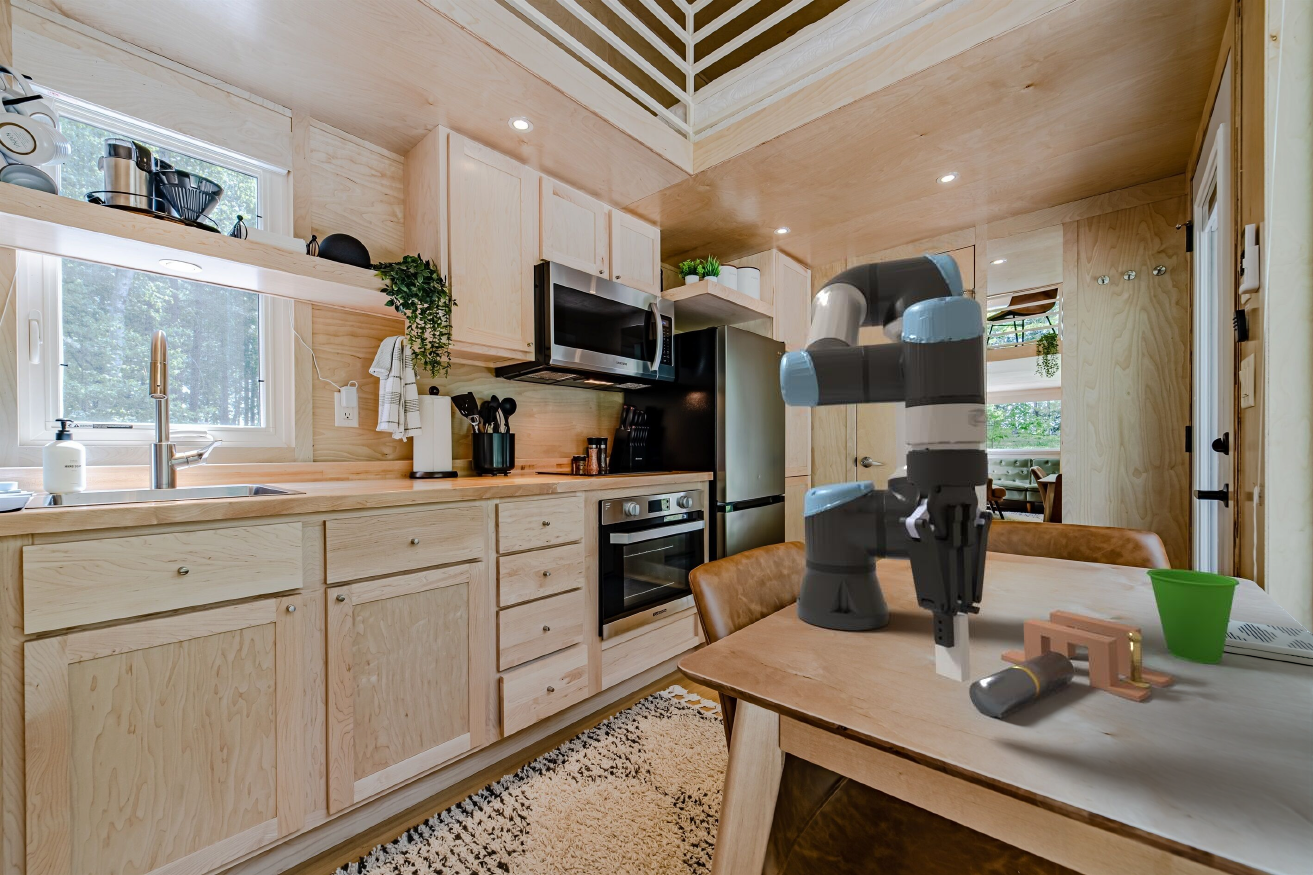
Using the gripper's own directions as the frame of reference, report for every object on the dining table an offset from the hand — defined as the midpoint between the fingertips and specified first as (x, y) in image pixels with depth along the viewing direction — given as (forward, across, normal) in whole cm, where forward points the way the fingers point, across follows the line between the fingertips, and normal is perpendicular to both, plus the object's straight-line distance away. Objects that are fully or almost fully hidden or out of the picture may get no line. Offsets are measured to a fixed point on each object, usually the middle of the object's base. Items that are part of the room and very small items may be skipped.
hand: (952, 675), depth 55 cm
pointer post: (+5, +29, -5) cm, 30 cm away
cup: (+5, +46, -6) cm, 47 cm away
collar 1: (+5, +25, 0) cm, 26 cm away
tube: (+6, +14, 0) cm, 15 cm away
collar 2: (+5, +32, 0) cm, 33 cm away
